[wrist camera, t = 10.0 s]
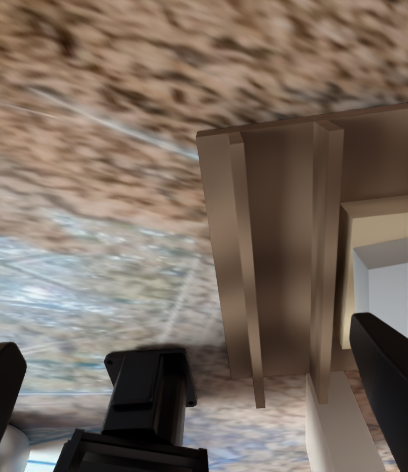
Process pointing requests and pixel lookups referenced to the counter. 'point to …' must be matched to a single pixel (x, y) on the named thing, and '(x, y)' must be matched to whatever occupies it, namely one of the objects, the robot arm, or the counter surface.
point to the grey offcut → (383, 282)
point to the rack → (292, 231)
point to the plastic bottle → (14, 450)
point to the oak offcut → (356, 235)
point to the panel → (338, 431)
